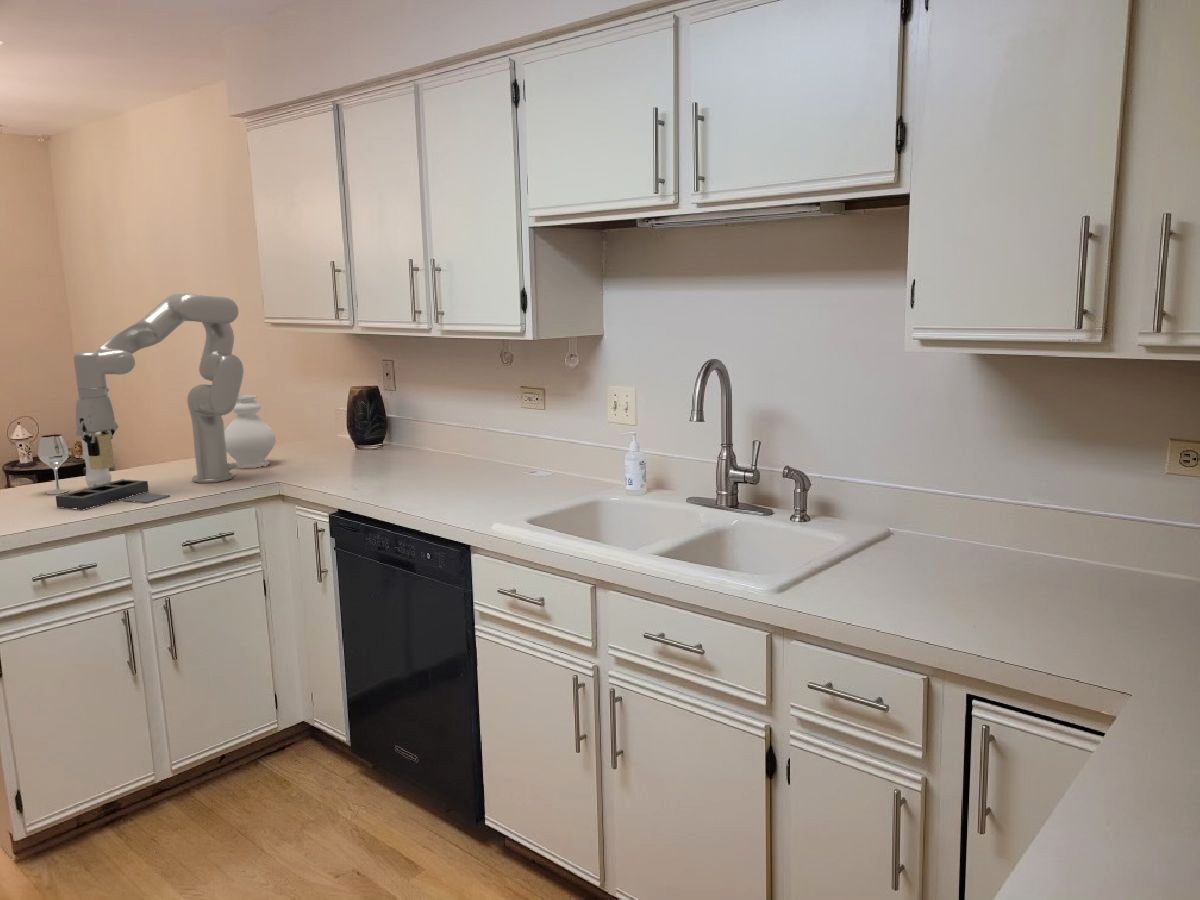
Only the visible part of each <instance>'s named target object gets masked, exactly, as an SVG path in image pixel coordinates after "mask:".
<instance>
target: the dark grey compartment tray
mask: <svg viewBox="0 0 1200 900" xmlns="http://www.w3.org/2000/svg"><path fill="white" fill-rule="evenodd" d="M147 491H149V484H148V481H147V480H139V479H138V480H137V479H117V480H114V481H111V482H110V483H106V484H102V485H98V486H94V487H90V488H89V487H88V488H83V489H79V490H75V491H70V492H68V493H64V494H57V495H55V503H56V508H57V507H64V508H77V509H86V508H90V507H93V506H97V505H100V506H102V505H101V504H104V505H106V504H105V503H108V502H111V501H115V500H118V501H120V500H119V499H122V498H125V499H127V498H126V497H129V496H132V495H136V494H139V493H143V492H147ZM147 493H148V492H147ZM143 494H144V493H143ZM136 496H137V495H136ZM129 498H130V497H129ZM122 500H123V499H122ZM115 502H116V501H115ZM111 503H112V502H111ZM108 504H109V503H108ZM97 507H98V506H97ZM64 508H63V509H64ZM93 508H94V507H93ZM90 509H91V508H90ZM86 510H87V509H86Z"/></svg>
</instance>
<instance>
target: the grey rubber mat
mask: <svg viewBox="0 0 1200 900" xmlns="http://www.w3.org/2000/svg"><path fill="white" fill-rule="evenodd" d="M170 495H171V494H162V493H160V494H159V493H149V492H147V493H143V494H140V495H136V496H133V497H129V498H125V499H122V502H123V501H135V502H144V503H143V504H149V503H148V502H150V503H152V502H151V501H154V502H156V501H155V500H157V501H160V500H163V499H162V498H164V499H167V498H170V497H171V496H170ZM166 497H167V498H166ZM159 499H160V500H159ZM135 502H134V503H135Z"/></svg>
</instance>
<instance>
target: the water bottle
mask: <svg viewBox="0 0 1200 900" xmlns="http://www.w3.org/2000/svg"><path fill="white" fill-rule="evenodd" d="M84 434H85V432H84ZM96 434H101V432H96ZM90 435H91V434H90ZM80 439H81V446H82V458H83V460H84V463H85V482H86V485H87V487H88V488H90V487H94V486H98V485H102V484H106V483H110V482H112V475H111V472H110V468H107V469H103V470H97V469H91V468H90V460H89V455H88V447H87V443H85V441H84V440H83V439H82V438H80Z"/></svg>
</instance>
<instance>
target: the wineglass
mask: <svg viewBox="0 0 1200 900" xmlns="http://www.w3.org/2000/svg"><path fill="white" fill-rule="evenodd" d="M37 455H38V458H39V460H40V461H41V462H42V463H44V464H45V465H46V466H48V467H50V468H51V469H52V470H53V473H54V481H55V489H53V490H50V491H47V492H46V493H45V494H46V495H48V494H56V495H61V494H60V493H62V492H63V493H64V492H65V491H66V492H67V490H68V489H61V488H60V483H59V475H58V474H59V473H58V469H59V468H60V467H61V466H62V464H64V463H65V462H66V461H67V459H68V458H69V455H70V452H69V447H68V445H67V442H66V440H65V438H64V435H63V434H56V433H55V434H46V435H40V438H39V443H38V450H37ZM64 494H65V493H64Z"/></svg>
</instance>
